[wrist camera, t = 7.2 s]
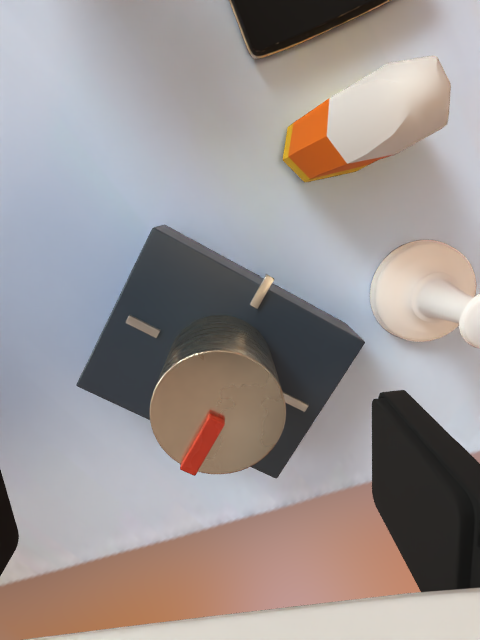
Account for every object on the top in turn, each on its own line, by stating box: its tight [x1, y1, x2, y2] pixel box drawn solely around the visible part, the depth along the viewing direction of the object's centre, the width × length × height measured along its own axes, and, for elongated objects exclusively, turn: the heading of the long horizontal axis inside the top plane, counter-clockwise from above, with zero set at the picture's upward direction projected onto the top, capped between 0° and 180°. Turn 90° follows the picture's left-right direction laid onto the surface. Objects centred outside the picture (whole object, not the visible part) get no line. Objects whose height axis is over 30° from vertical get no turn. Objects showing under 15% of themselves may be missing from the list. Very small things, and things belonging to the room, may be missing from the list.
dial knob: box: [150, 315, 286, 476], centre depth 15 cm, size 4×4×5 cm
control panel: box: [77, 225, 365, 478], centre depth 19 cm, size 10×9×3 cm
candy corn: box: [283, 56, 451, 182], centre depth 15 cm, size 6×3×8 cm, turn 110°
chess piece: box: [370, 240, 480, 348], centre depth 16 cm, size 5×5×10 cm
